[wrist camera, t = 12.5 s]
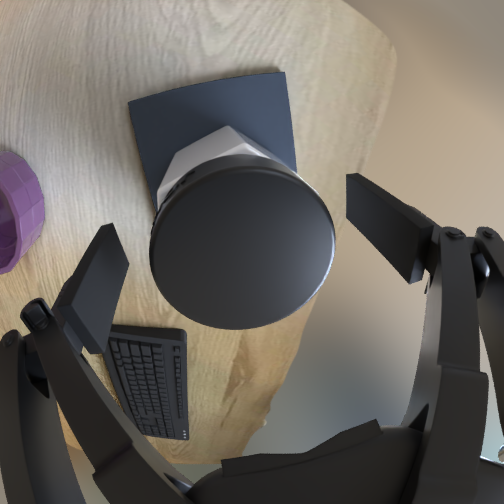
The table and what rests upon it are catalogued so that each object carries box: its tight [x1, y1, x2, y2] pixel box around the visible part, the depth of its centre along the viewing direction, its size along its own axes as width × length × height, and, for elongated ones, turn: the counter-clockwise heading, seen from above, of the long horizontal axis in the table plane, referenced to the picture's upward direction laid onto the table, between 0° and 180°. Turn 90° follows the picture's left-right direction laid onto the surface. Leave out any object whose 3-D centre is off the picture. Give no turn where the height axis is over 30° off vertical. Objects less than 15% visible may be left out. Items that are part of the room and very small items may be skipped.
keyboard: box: [102, 324, 189, 440], centre depth 35 cm, size 30×11×2 cm, turn 171°
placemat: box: [128, 72, 297, 213], centre depth 22 cm, size 16×12×1 cm
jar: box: [149, 126, 336, 330], centre depth 17 cm, size 9×8×12 cm
